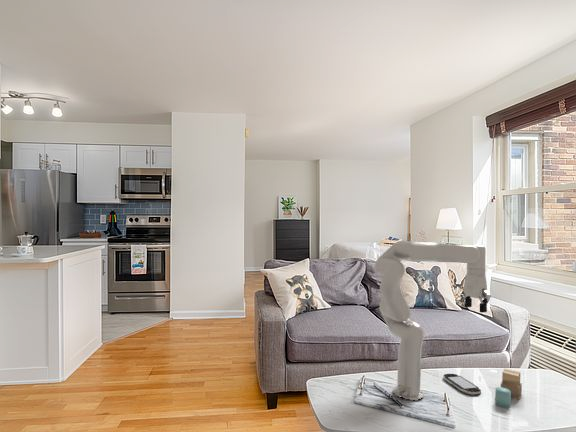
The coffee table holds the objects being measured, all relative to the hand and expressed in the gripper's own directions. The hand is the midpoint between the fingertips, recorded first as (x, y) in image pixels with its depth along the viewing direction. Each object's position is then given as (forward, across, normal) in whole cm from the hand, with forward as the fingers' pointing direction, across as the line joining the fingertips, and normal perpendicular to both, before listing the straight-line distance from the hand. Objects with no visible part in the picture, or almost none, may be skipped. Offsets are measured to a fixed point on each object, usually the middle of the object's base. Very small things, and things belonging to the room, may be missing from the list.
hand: (475, 309), depth 171 cm
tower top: (+31, +8, +12) cm, 34 cm away
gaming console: (+36, -3, -5) cm, 37 cm away
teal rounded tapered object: (+36, +16, +1) cm, 39 cm away
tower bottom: (+36, +8, +12) cm, 39 cm away
